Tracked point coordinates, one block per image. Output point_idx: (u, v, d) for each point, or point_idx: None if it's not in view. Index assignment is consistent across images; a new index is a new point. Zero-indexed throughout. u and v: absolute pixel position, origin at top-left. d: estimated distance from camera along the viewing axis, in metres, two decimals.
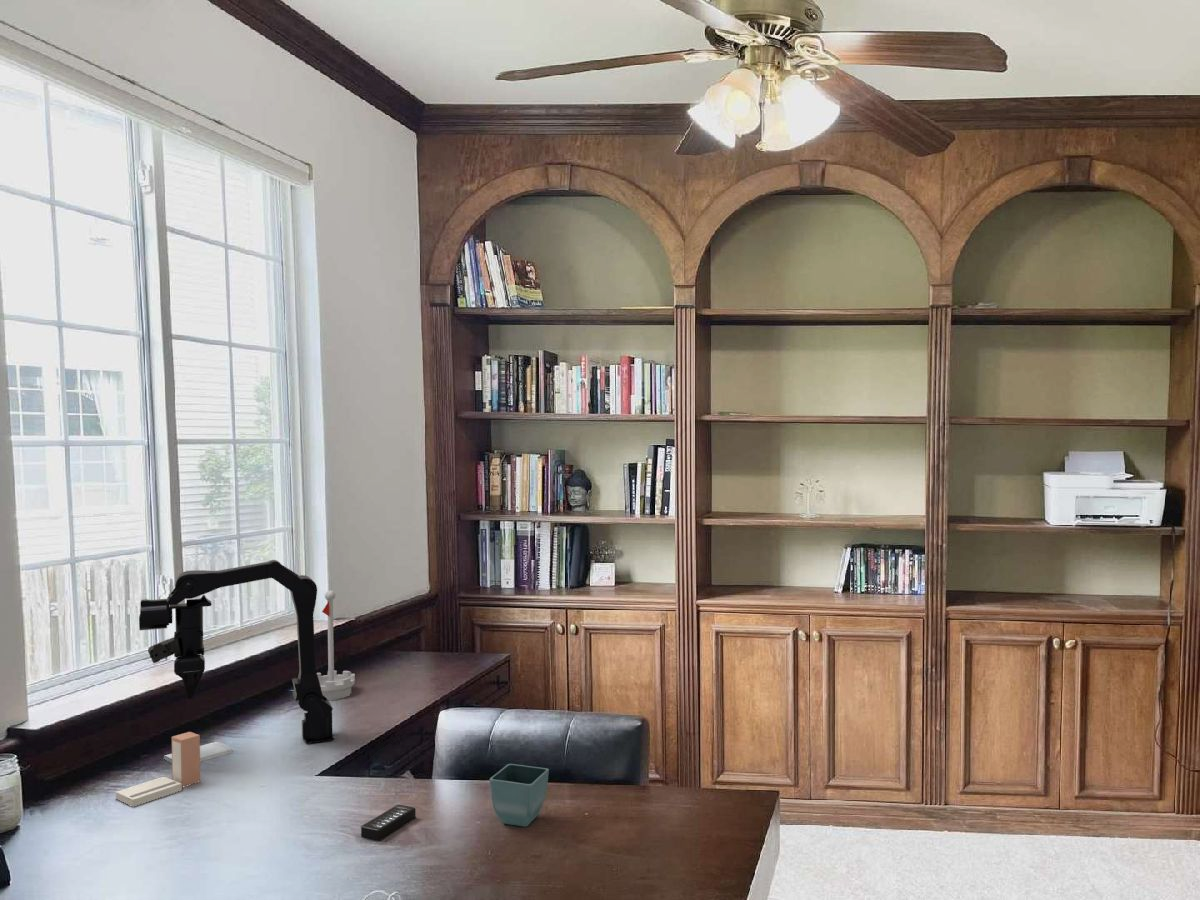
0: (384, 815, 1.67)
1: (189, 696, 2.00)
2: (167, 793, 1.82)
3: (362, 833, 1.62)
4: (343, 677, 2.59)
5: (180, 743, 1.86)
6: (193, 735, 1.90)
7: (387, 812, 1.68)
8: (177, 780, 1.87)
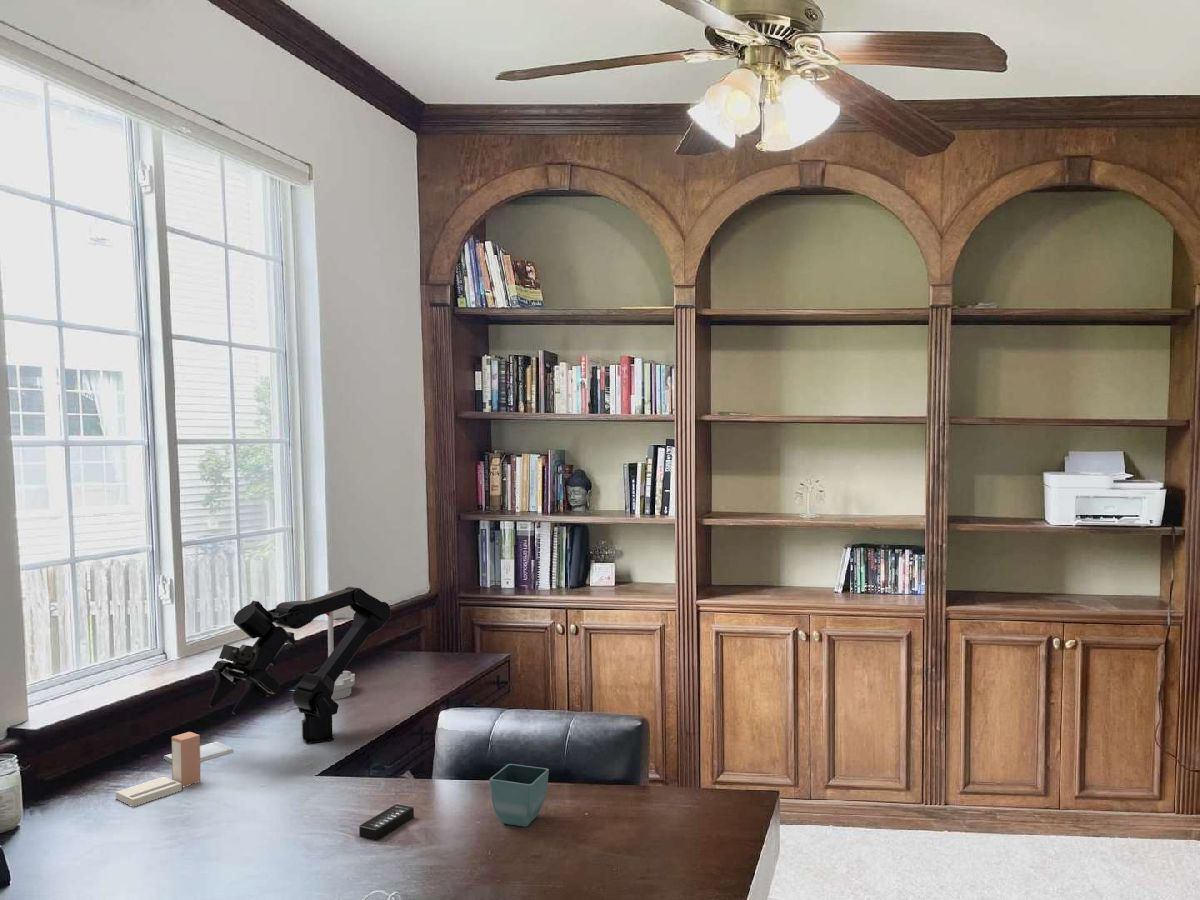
0: (382, 815, 1.67)
1: (236, 710, 1.93)
2: (167, 793, 1.82)
3: (360, 833, 1.62)
4: (343, 677, 2.59)
5: (180, 743, 1.86)
6: (193, 735, 1.90)
7: (385, 812, 1.68)
8: (177, 780, 1.87)
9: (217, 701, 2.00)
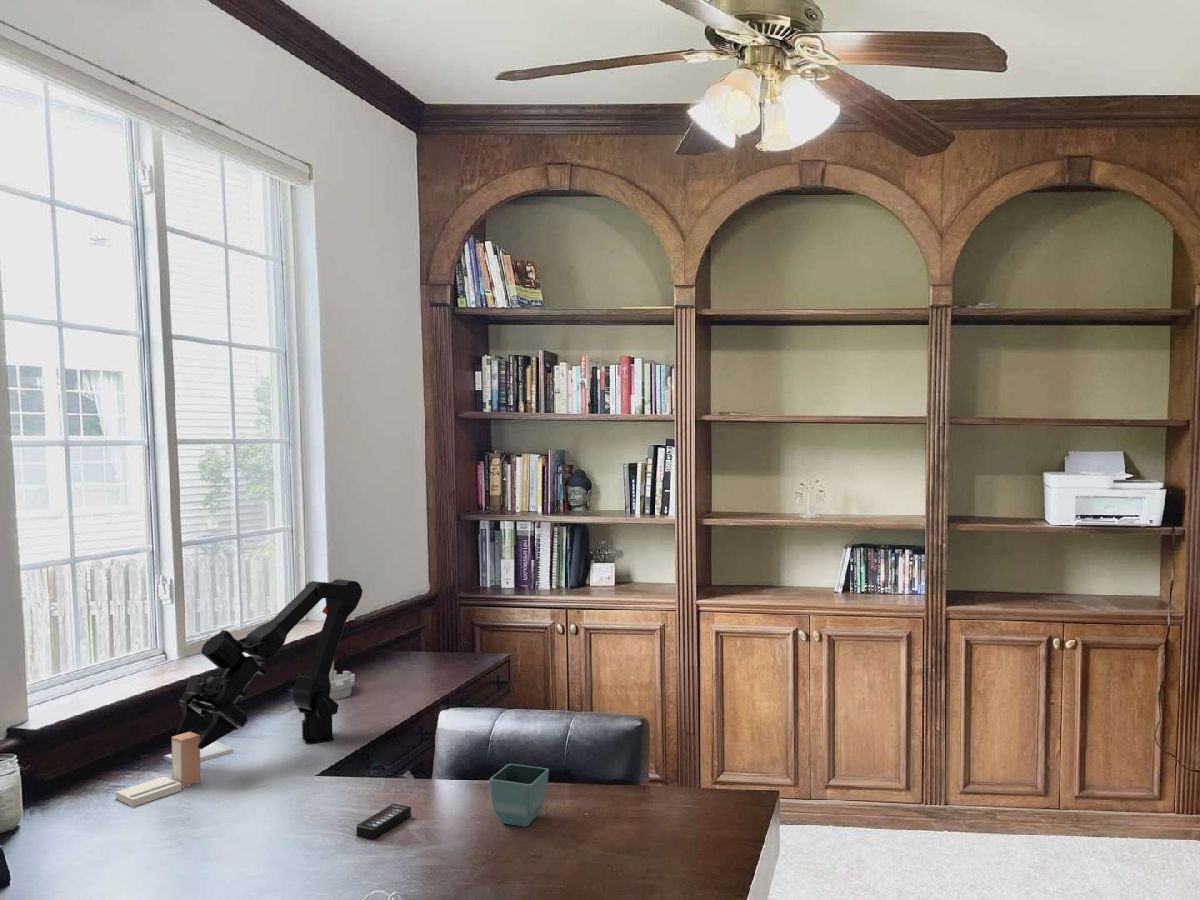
0: (379, 814, 1.67)
1: (202, 745, 1.87)
2: (167, 793, 1.82)
3: (358, 832, 1.62)
4: (343, 677, 2.59)
5: (180, 743, 1.86)
6: (193, 735, 1.90)
7: (382, 811, 1.68)
8: (177, 780, 1.87)
9: None
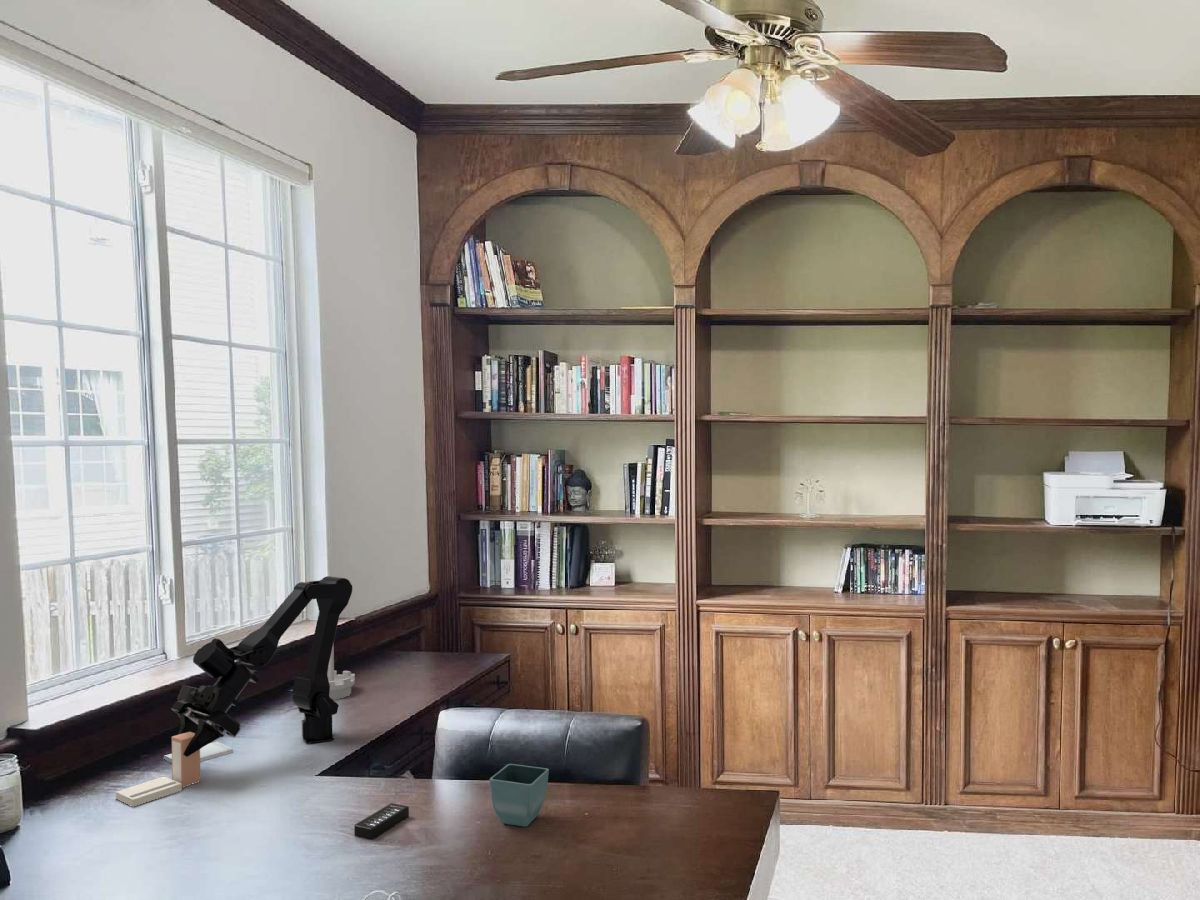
0: (377, 814, 1.67)
1: (187, 752, 1.87)
2: (167, 793, 1.82)
3: (355, 832, 1.62)
4: (343, 677, 2.59)
5: (180, 743, 1.86)
6: (193, 735, 1.90)
7: (380, 811, 1.69)
8: (177, 780, 1.87)
9: None
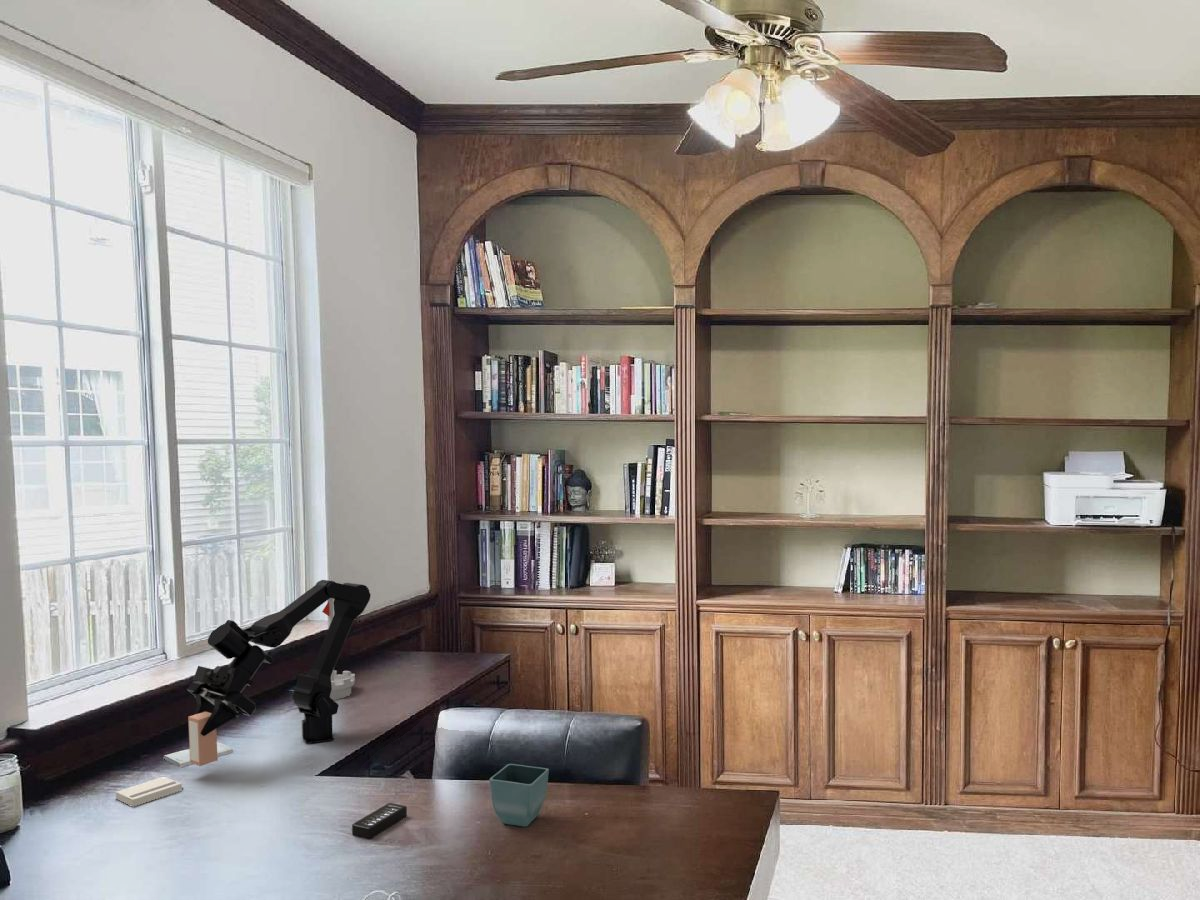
0: (375, 813, 1.67)
1: (204, 732, 1.90)
2: (167, 793, 1.82)
3: (353, 831, 1.63)
4: (343, 677, 2.59)
5: (197, 723, 1.90)
6: (210, 714, 1.93)
7: (378, 810, 1.69)
8: (195, 759, 1.91)
9: None
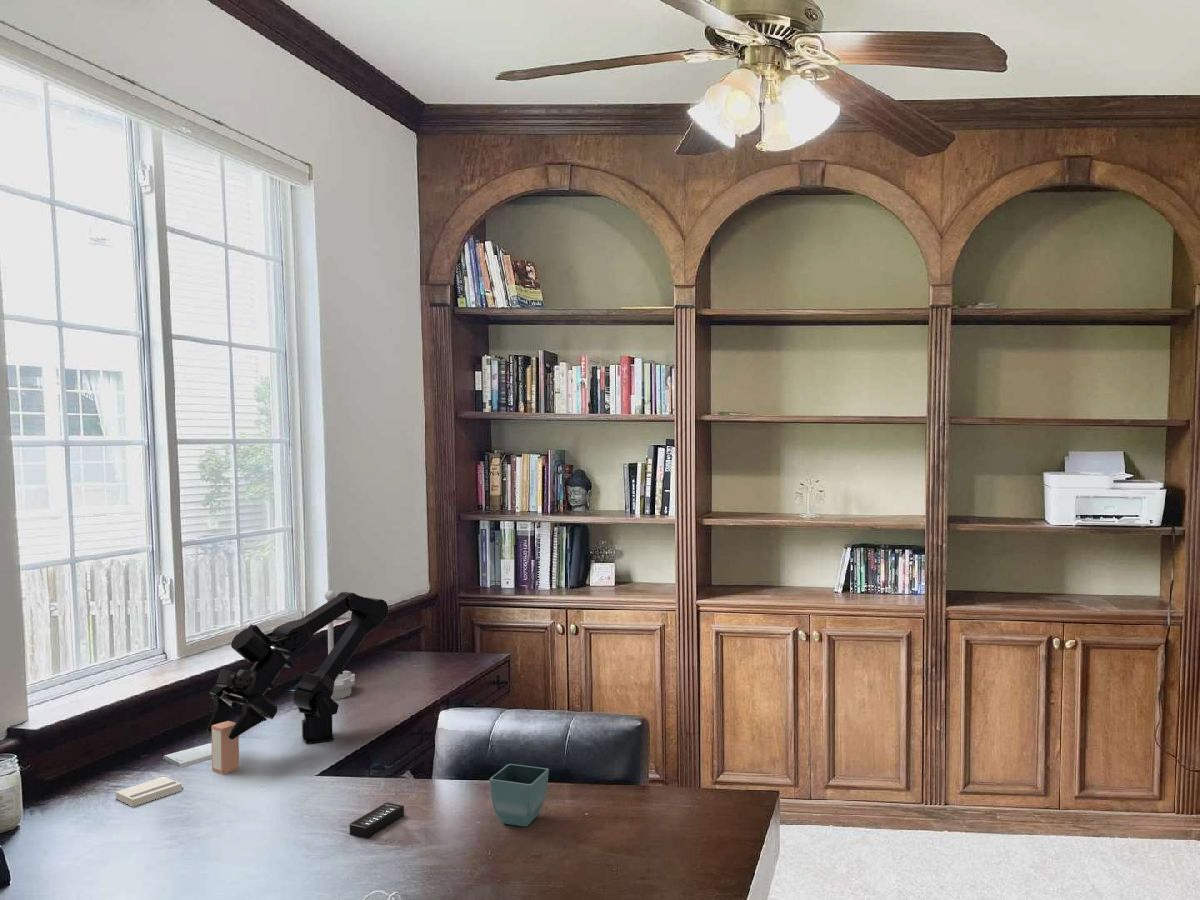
0: (373, 813, 1.68)
1: (232, 735, 1.93)
2: (167, 793, 1.82)
3: (351, 831, 1.63)
4: (343, 677, 2.59)
5: (220, 732, 1.94)
6: (232, 723, 1.97)
7: (376, 810, 1.69)
8: (217, 767, 1.95)
9: None
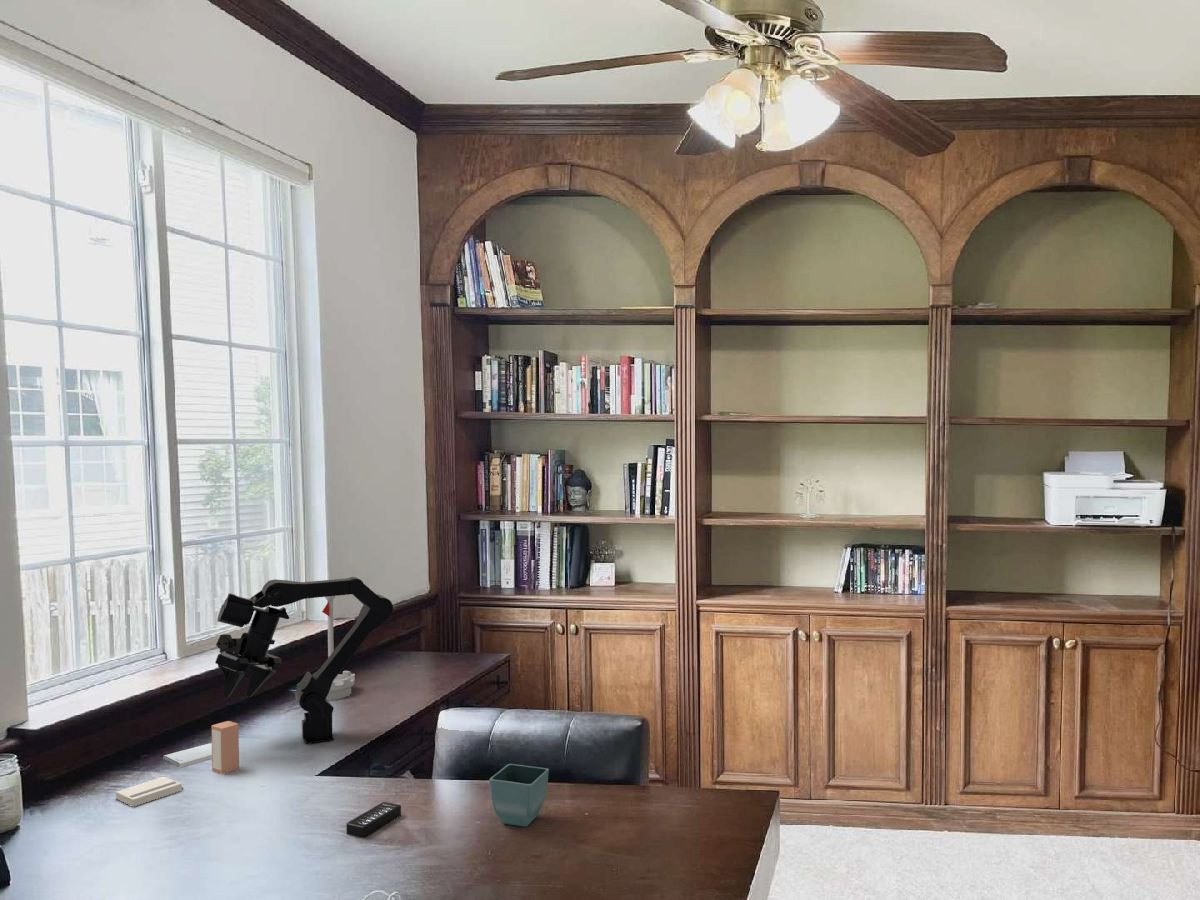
0: (369, 812, 1.68)
1: (225, 695, 2.03)
2: (167, 793, 1.82)
3: (347, 830, 1.63)
4: (343, 677, 2.59)
5: (220, 732, 1.94)
6: (232, 723, 1.97)
7: (373, 809, 1.69)
8: (217, 767, 1.95)
9: (252, 690, 2.12)
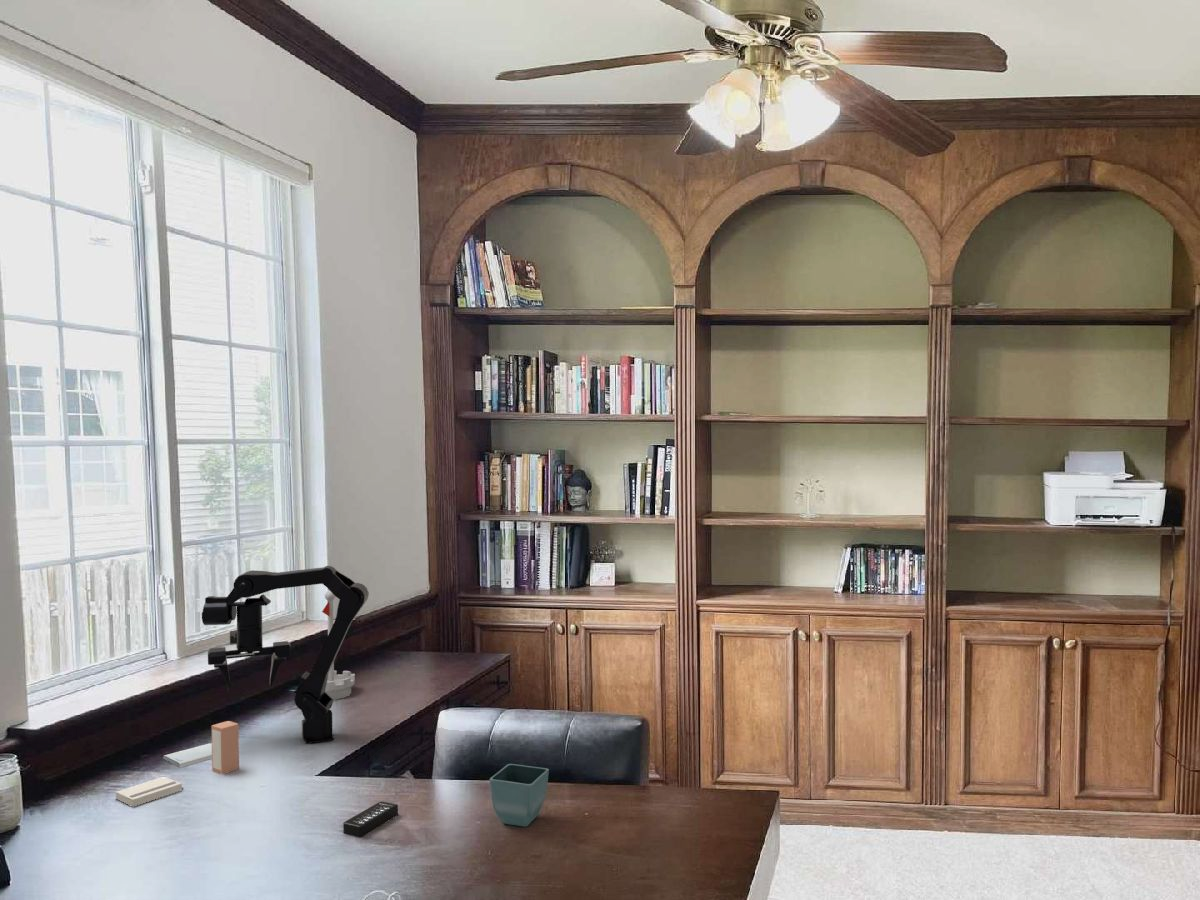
0: (366, 812, 1.68)
1: None
2: (167, 793, 1.82)
3: (344, 830, 1.63)
4: (343, 677, 2.59)
5: (220, 732, 1.94)
6: (232, 723, 1.97)
7: (369, 809, 1.70)
8: (217, 767, 1.95)
9: (270, 679, 2.16)
